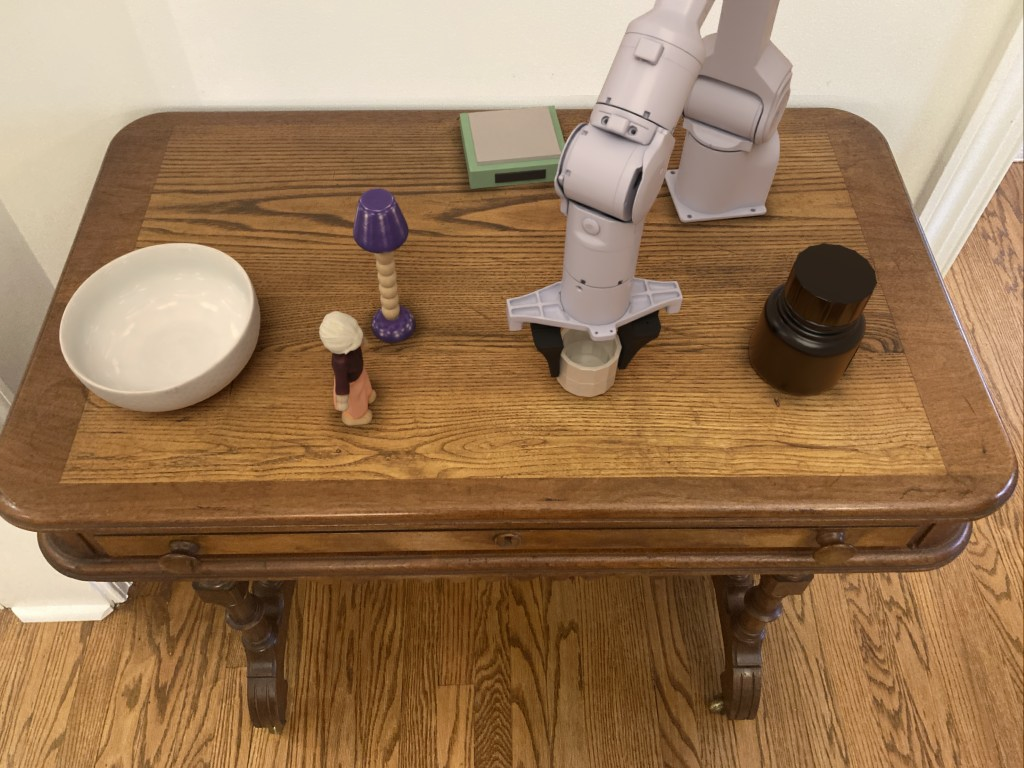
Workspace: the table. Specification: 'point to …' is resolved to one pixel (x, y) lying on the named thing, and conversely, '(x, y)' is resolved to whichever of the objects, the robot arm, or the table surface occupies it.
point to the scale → (511, 146)
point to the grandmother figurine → (348, 367)
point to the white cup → (588, 363)
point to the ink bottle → (813, 320)
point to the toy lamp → (384, 259)
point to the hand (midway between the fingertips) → (586, 364)
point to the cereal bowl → (161, 327)
